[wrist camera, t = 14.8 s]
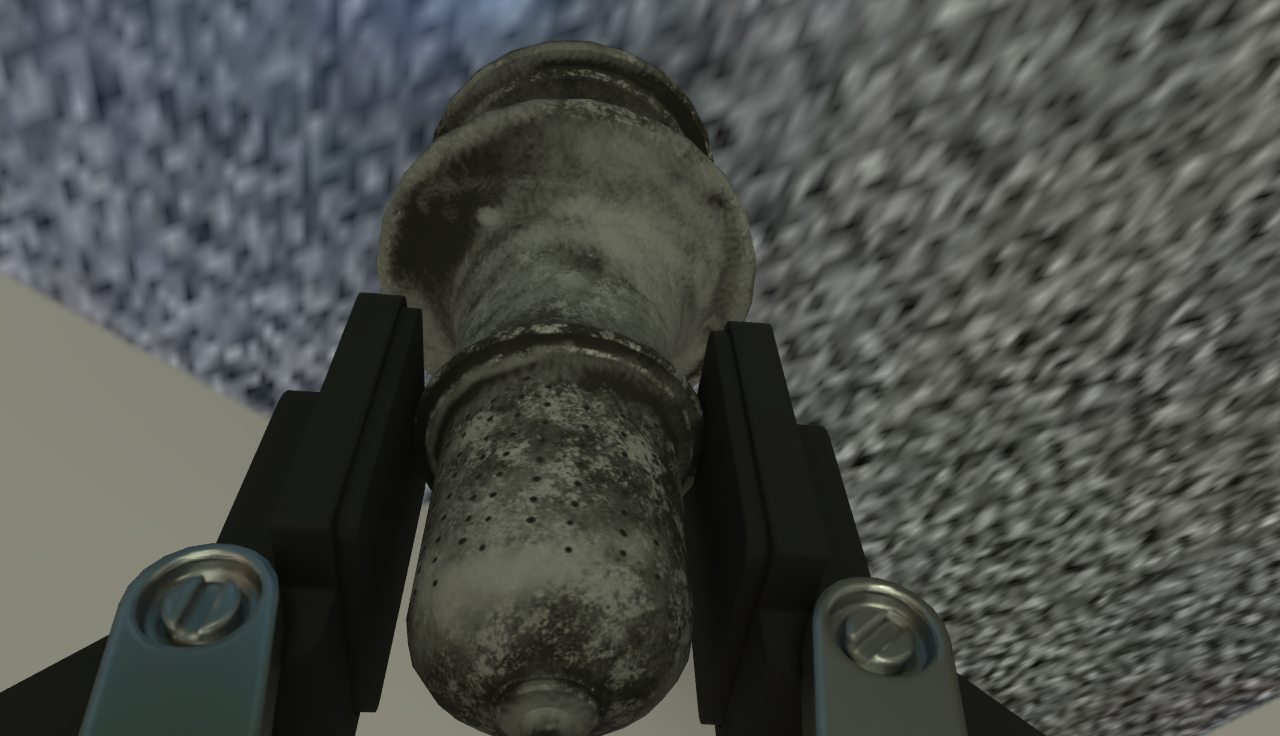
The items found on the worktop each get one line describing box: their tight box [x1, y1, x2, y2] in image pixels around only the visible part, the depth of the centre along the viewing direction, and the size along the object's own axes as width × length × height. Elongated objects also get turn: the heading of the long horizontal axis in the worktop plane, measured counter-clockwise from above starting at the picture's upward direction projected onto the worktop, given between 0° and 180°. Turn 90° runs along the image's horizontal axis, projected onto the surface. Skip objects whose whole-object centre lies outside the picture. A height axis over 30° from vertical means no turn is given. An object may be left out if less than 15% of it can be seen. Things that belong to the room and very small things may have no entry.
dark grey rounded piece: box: [376, 41, 756, 736], centre depth 13 cm, size 6×6×12 cm
